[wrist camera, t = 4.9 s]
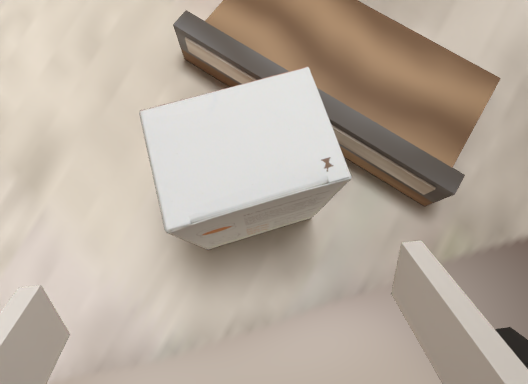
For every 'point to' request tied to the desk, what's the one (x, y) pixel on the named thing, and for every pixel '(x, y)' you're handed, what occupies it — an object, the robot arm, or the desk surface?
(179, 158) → the small box
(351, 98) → the shelf board
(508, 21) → the desk surface
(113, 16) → the desk surface
